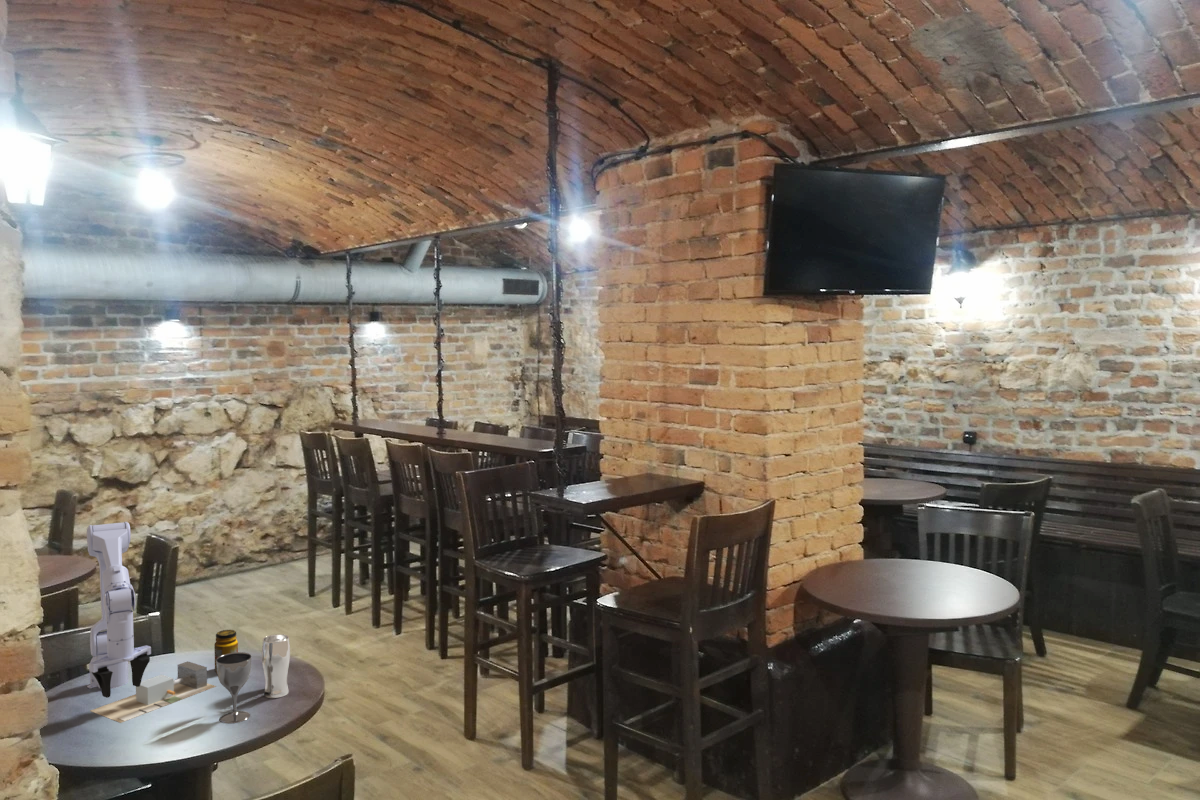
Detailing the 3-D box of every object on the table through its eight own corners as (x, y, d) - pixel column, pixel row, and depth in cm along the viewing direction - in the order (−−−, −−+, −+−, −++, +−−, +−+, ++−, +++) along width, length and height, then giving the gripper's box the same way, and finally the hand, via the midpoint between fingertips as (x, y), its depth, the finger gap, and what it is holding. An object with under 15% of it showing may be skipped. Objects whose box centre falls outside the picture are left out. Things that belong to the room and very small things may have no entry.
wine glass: (248, 723, 211) (247, 663, 210) (213, 725, 210) (212, 664, 209) (255, 709, 219) (254, 651, 218) (222, 711, 218) (221, 652, 217)
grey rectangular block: (177, 683, 232) (177, 664, 232) (188, 679, 235) (187, 661, 235) (196, 689, 228) (196, 670, 228) (206, 685, 231) (206, 667, 231)
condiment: (243, 674, 242) (243, 632, 241) (212, 682, 236) (211, 639, 235) (233, 667, 247) (232, 626, 246) (202, 675, 241) (201, 633, 240)
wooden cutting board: (89, 715, 215) (89, 709, 214) (185, 680, 237) (185, 675, 237) (120, 727, 208) (120, 721, 208) (216, 690, 231) (216, 685, 230)
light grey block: (136, 700, 221) (135, 683, 220) (176, 686, 230) (175, 669, 230) (153, 707, 217) (153, 689, 217) (193, 692, 226) (193, 675, 226)
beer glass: (281, 700, 225) (280, 643, 224) (256, 697, 226) (256, 641, 225) (295, 689, 232) (295, 634, 231) (272, 687, 233) (271, 632, 232)
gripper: (100, 649, 205) (101, 705, 206) (158, 631, 218) (159, 684, 219) (83, 643, 209) (84, 698, 210) (141, 626, 221) (142, 678, 222)
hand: (121, 691), depth 215 cm, fingers open, 7 cm apart
